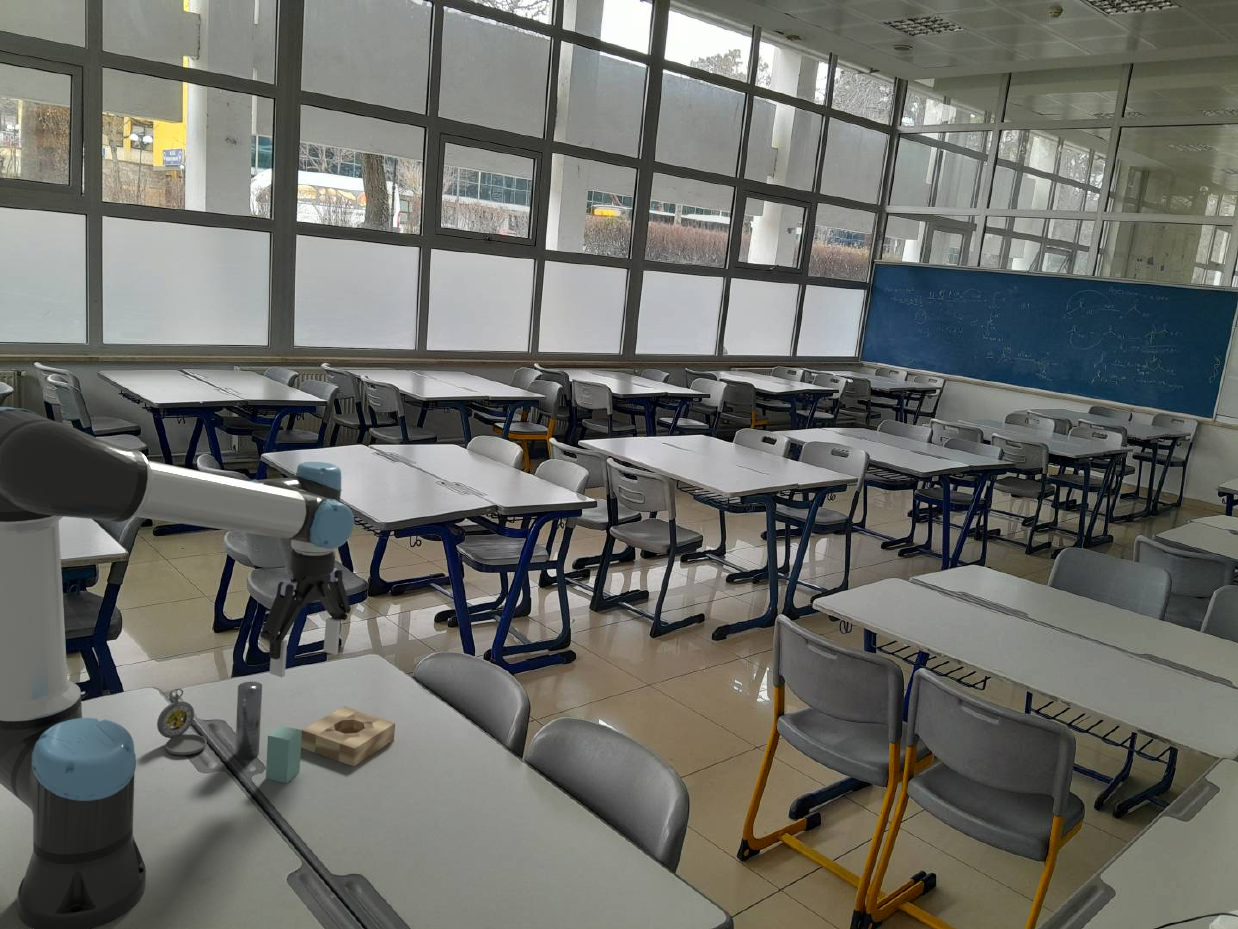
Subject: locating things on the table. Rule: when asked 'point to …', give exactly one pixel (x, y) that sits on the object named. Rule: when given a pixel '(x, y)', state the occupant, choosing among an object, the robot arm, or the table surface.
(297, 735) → the square bit
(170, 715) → the pocket watch
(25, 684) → the robot arm
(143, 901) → the table surface
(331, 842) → the table surface
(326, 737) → the socket block
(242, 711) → the cylinder
